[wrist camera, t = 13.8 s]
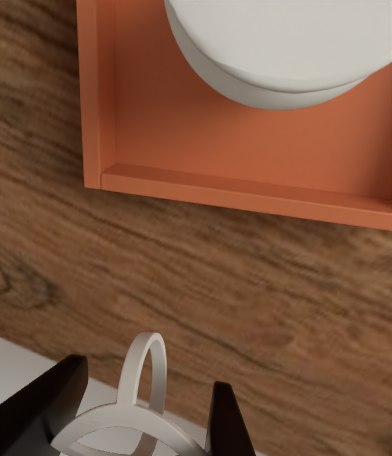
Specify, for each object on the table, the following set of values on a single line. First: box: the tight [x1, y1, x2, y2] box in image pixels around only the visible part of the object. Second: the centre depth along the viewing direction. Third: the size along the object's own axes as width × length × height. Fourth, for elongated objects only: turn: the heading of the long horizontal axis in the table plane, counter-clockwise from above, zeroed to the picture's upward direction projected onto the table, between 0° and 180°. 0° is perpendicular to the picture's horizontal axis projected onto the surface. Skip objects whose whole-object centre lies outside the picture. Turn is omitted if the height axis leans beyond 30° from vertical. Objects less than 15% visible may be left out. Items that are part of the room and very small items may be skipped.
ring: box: [50, 332, 207, 456], centre depth 9 cm, size 3×3×3 cm
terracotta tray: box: [76, 0, 392, 231], centre depth 10 cm, size 11×11×2 cm
